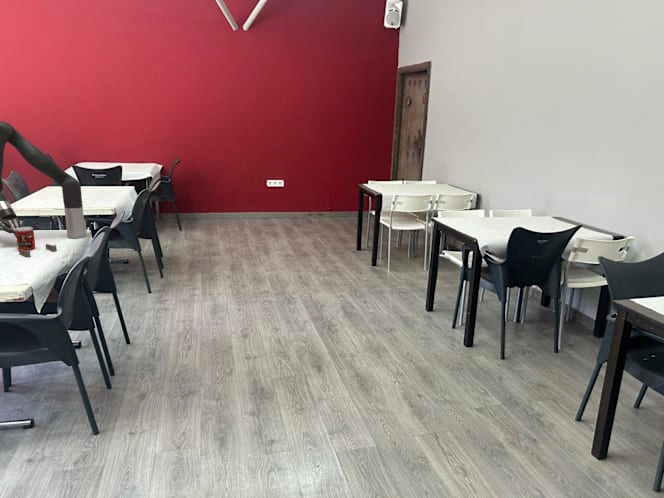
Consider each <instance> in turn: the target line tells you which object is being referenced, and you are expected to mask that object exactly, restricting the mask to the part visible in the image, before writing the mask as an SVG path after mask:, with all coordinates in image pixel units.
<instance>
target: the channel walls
mask: <svg viewBox="0 0 664 498" xmlns="http://www.w3.org/2000/svg"><path fill="white" fill-rule="evenodd" d="M51 246H52V244H49V243H46V244H45V250H48V251H51V252H53V251H52V249H51ZM18 253H19V255H20V256H22V257H25V250H22V249H20V250H19V249H18Z"/></svg>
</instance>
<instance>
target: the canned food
mask: <svg viewBox="0 0 664 498" xmlns="http://www.w3.org/2000/svg"><path fill="white" fill-rule="evenodd" d="M16 236H17V238H16V242H17V243H16V244H17V249H18V251H19V250H20V249H22V250H25V251H27V250H29V251H33V250H35V248H36V242H35V241H36V240H35V233H34V228H33V227H32V226H24V227H21V226H19V228H17V229H16Z"/></svg>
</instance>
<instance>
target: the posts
mask: <svg viewBox="0 0 664 498" xmlns="http://www.w3.org/2000/svg"><path fill="white" fill-rule="evenodd" d="M51 245H52V244H51ZM51 249H52V251H51V252H57V251H58V249H57V245H56V244H53V245H52V246H51ZM24 257H25V258H30V257H31V250H27V251H25V256H24Z"/></svg>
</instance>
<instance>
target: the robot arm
mask: <svg viewBox="0 0 664 498" xmlns="http://www.w3.org/2000/svg"><path fill="white" fill-rule="evenodd" d="M7 143H9V145H11V146H13V148H14V149H15V150H16V151H17V152H18V153H19V154H20V156H21V157H22V158H23V159H24V160H25V162H26V163H27V164H29V165H30V166H31V167H32V168H34V169H35V170H37V171H38V172H39V173H41V174H43V175H45V176H47V177H49V178H50V179H52V180H53V181H55V182H56V184H58V185H59V186H60V187H61V191H62V201H63V207H64V208H63V209H64V216H65V226H66V227H65V228H66V236H67V238H69V239H81V238H85V237H87V236H88V233H87V232H88V231H87V222H86V219H85V218H84V217H85V216H84V205H83V198H82V186H81V183H80V181H79V180H78V179H76V178H75V177H74V176H72V175H70V174H69V173H67V172H66V171H65V170H63V169H62V168H61V167H60V166H59V165H58V164H57V163H55V161H53V160H52V158H50V157H49V156H48V155H47V154H46V153H44V152H43V151H42V150H40V149H39V148H38V147H36V146H35V145H34V144H33V143H31V142H30V141H29V140H28V139H26V137H24V136H23V135H22V134H21V133H20V132H19V131H18V130H17V129H16V128H15V127H14V126H13V125H11V123H9V122H8V121H5V120H4V121H3V120H0V221H1V224H0V230H2V231H4V232H5V233H8V234H13V235H14V237H15V238H16V239H17V236H16V229H17V228H20V227H25V223H26V221H25V220H20V218H18V217H17V214H16V212H15V211H14V209H13V207H12V205H11V204H10V202H9V201H8V199H7V197H6V196H5V195H4V194H3V193H2V192H3V191H4V184H3V176H2V174H3V169H4V163H5V161H4V160H5V158H4V156H5V155H4V153H5V147H6V144H7ZM19 225H20V226H19Z"/></svg>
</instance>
